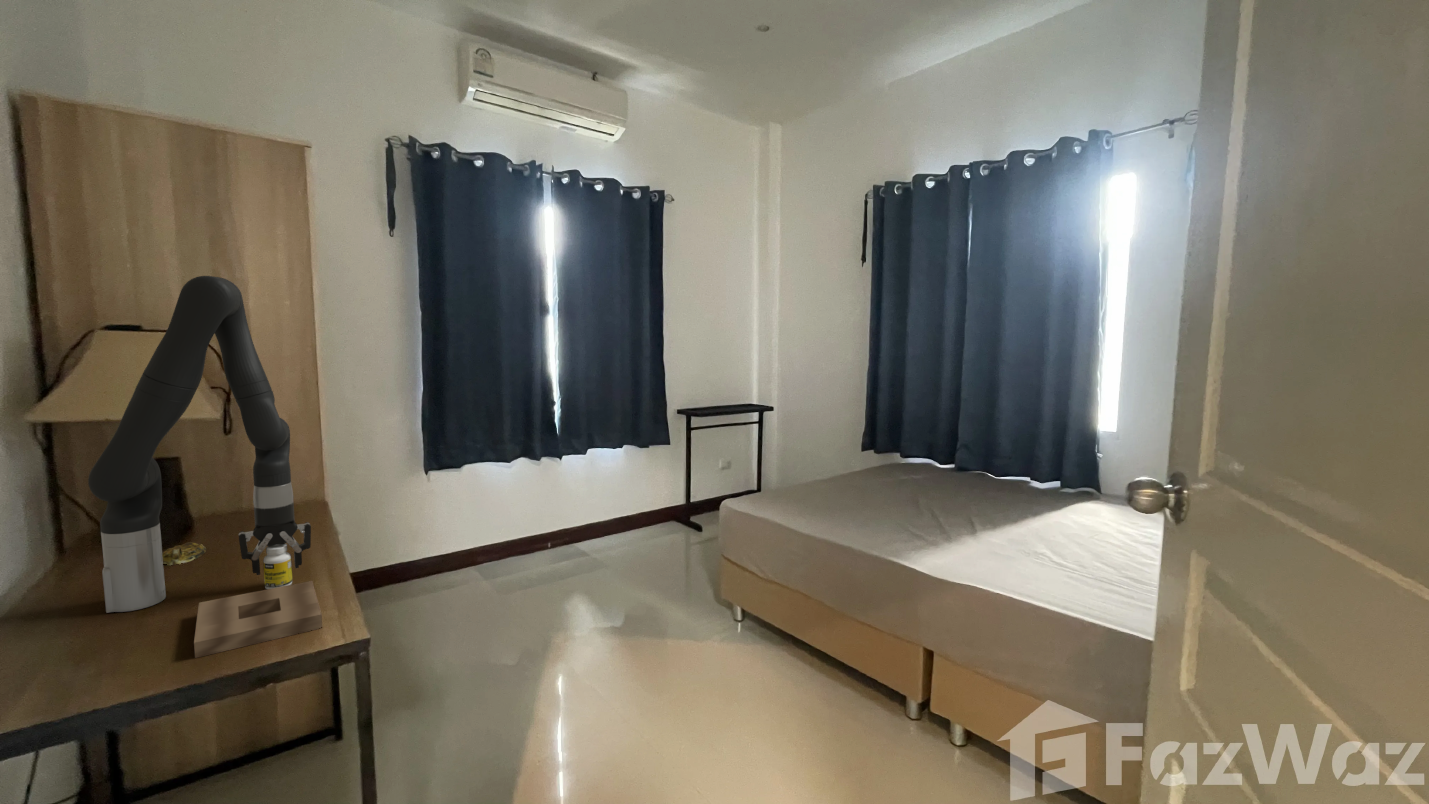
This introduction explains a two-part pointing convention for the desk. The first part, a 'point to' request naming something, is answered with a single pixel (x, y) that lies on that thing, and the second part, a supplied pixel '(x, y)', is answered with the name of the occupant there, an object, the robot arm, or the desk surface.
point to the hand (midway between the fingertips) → (278, 570)
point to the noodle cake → (183, 553)
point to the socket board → (256, 618)
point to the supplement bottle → (277, 567)
